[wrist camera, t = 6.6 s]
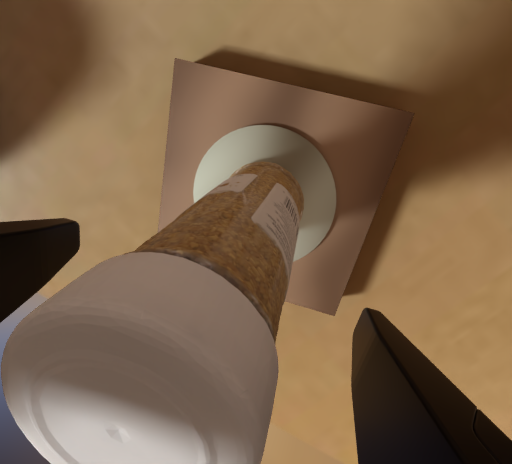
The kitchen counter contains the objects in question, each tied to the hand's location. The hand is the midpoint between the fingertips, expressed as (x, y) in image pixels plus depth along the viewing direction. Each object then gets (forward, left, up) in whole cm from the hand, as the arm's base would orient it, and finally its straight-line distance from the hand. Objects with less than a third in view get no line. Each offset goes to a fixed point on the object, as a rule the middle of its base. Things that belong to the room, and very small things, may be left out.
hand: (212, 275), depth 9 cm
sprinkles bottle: (0, 0, -9) cm, 9 cm away
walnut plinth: (0, 0, -11) cm, 11 cm away
